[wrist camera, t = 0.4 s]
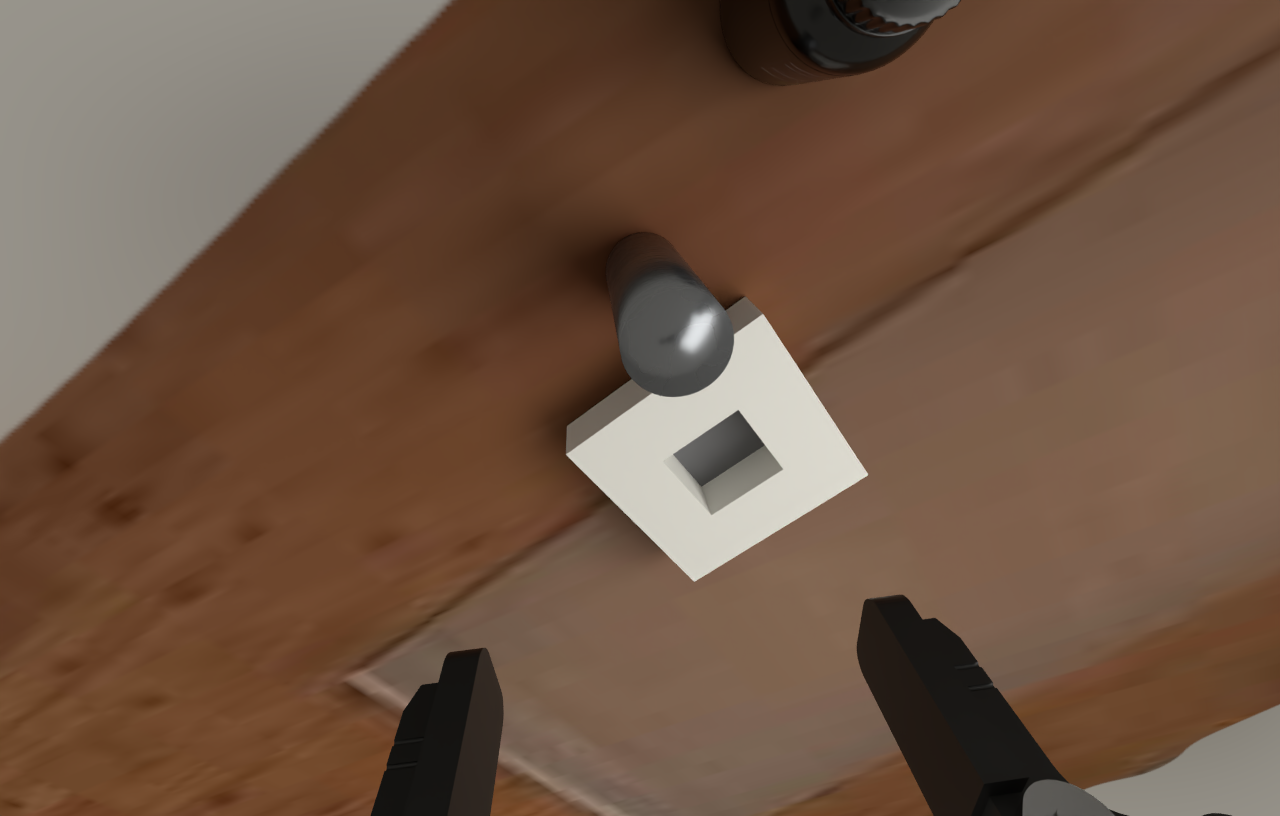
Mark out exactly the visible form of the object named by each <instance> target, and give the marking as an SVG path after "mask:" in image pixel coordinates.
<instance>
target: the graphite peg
mask: <svg viewBox="0 0 1280 816" xmlns="http://www.w3.org/2000/svg"><path fill="white" fill-rule="evenodd" d="M606 280H607V285H608V290H609V296H610V301H611V306H612V311H613V317H614V322H615V327H616V332H617V338H618V343H619V348H620V353H621V358H622V362H623V365H624V367H625V369H626V371H627V373H628V374H629V376H630V377H631V378H632V380H633V381H634V382H635V383H636V384H638V385H639V386H640V387H641V388H643V389H645V390H646V391H648V392H651V393H653V394H656V395H659V396H665V397H682V396H687V395H691V394H694V393H696V392H699V391H701V390H703V389H704V388H706V387H708V386H709V385H710V384H712V383H713V382H714V381H715V380H716V379H717V378H718V377H719V376H720V375H721V374H722V372H723V371H724V370H725V368H726V366H727V365H728V363H729V360H730V358H731V355H732V352H733V346H734V331H733V327H732V323H731V320H730V318H729V316H728V314H727V313H726V311H725V310H724V308H723V307H722V306H721V305H720V303H719V302H718V301H717V300H716V298H715V297H714V296H713V295H712V294H711V292H710V291H709V290H708V289H707V287H706V286H705V285H704V284H703V282H702V281H701V280H700V279H699V278H698V276H697V275H696V274H695V273H694V271H693V270H692V269H691V268H690V267H689V265H688V264H687V263H686V262H685V260H684V259H683V258H682V257H681V255H680V254H679V253H678V252H677V251H676V249H675V248H674V247H673V246H672V244H671V243H670V242H668V241H667V240H666V239H665V238H663V237H661V236H659V235H657V234H653V233H647V232H642V233H635V234H632V235H629V236H627V237H625V238H624V239H622V240H621V241H620V242H619V243H617V244H616V246H615V247H614V248H613V249H612V251H611V253H610V255H609V257H608V260H607V263H606Z"/></svg>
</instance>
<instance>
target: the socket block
mask: <svg viewBox="0 0 1280 816" xmlns="http://www.w3.org/2000/svg"><path fill="white" fill-rule="evenodd" d="M726 313H727V314H728V316H729V318H730V320H731V323H732V327H733V331H734V346H733V352H732V355H731V358H730V360H729V363H728V365H727V366H726V368H725V370H724V371H723V372H722V374H721V375H720V376H719V377H718V378H717V379H716V380H715V381H714V382H713V383H712V384H710V385H709V386H708V387H706V388H704V389H703V390H701V391H699V392H696V393H694V394H691V395H687V396H682V397H665V396H659V395H656V394H653V393H651V392H648V391H646V390H645V389H643V388H641V387H640V386H639V385H638V384H636V383H635V382H634V381H633V380H632V379H631V380H630V381H628V382H627V383H625V384H624V385H623V386H621V387H620V388H619V389H617V390H616V391H614V392H613V393H612V394H610V395H609V396H608V397H606V398H605V399H603V400H602V401H601V402H599V403H598V404H597V405H595V406H594V407H592V408H591V409H590V410H588V411H587V412H586V413H584V414H583V415H581V416H580V417H579V418H577V419H576V420H575V421H573V422H572V423H570V424H569V425H568V426H567V439H566V455H567V456H568V457H569V458H570V459H571V460H572V461H573V462H574V463H575V464H576V465H577V466H578V467H579V468H580V469H581V470H582V471H583V472H584V473H585V474H586V475H587V476H588V477H589V478H590V479H591V480H592V481H593V482H594V483H595V484H596V485H597V486H598V487H599V488H600V489H601V490H602V491H603V492H604V493H605V494H606V495H607V496H608V497H609V498H610V499H611V500H612V501H613V502H614V503H615V504H616V505H617V506H618V507H619V508H620V509H621V510H622V511H623V512H624V513H625V514H626V515H627V516H628V517H629V518H630V519H631V520H632V521H634V522H635V523H636V524H637V525H638V526H639V527H640V528H641V529H642V530H643V531H644V532H645V533H646V534H647V535H648V536H649V537H650V538H651V539H652V540H653V541H654V542H655V543H656V544H657V545H658V546H659V547H660V548H661V549H662V550H663V551H664V552H665V553H666V554H667V555H668V556H669V557H670V558H671V559H672V560H673V561H674V562H675V563H676V564H677V565H678V566H679V567H680V568H681V569H682V570H683V571H684V572H685V573H686V574H687V575H688V576H689V577H690V578H691V579H692V580H693V581H694V582H695V581H696V580H698V579H699V578H701V577H703V576H704V575H706V574H708V573H709V572H711V571H713V570H714V569H716V568H717V567H719V566H721V565H722V564H724V563H726V562H727V561H729V560H731V559H732V558H734V557H735V556H737V555H739V554H740V553H742V552H744V551H745V550H747V549H748V548H750V547H752V546H753V545H755V544H757V543H758V542H760V541H762V540H763V539H765V538H766V537H768V536H770V535H771V534H773V533H775V532H776V531H778V530H780V529H781V528H783V527H784V526H786V525H788V524H789V523H791V522H793V521H794V520H796V519H797V518H799V517H801V516H802V515H804V514H806V513H807V512H809V511H811V510H812V509H814V508H815V507H817V506H819V505H820V504H822V503H824V502H825V501H827V500H828V499H830V498H832V497H833V496H835V495H837V494H838V493H840V492H842V491H843V490H845V489H846V488H848V487H850V486H851V485H853V484H855V483H856V482H858V481H860V480H861V479H863V478H864V477H866V476H868V474H867V472H866V471H865V469H864V468H863V466H862V465H861V463H860V461H859V460H858V458H857V457H856V455H855V454H854V452H853V451H852V449H851V448H850V446H849V445H848V443H847V442H846V440H845V439H844V437H843V435H842V434H841V432H840V431H839V429H838V428H837V426H836V425H835V423H834V422H833V420H832V419H831V417H830V416H829V414H828V413H827V411H826V409H825V408H824V406H823V405H822V403H821V402H820V400H819V399H818V397H817V396H816V394H815V393H814V391H813V390H812V388H811V387H810V385H809V383H808V382H807V380H806V379H805V377H804V376H803V374H802V373H801V371H800V370H799V368H798V367H797V365H796V364H795V362H794V361H793V359H792V357H791V356H790V354H789V353H788V351H787V350H786V348H785V347H784V345H783V344H782V342H781V341H780V339H779V338H778V336H777V335H776V333H775V331H774V330H773V328H772V327H771V325H770V324H769V322H768V321H767V319H766V318H765V316H764V315H763V313H762V312H761V311H760V310H759V309H758V308H757V307H756V306H755V305H754V304H753V303H752V302H751V301H750V300H749V299H748V298H747V297H746V296H745V297H744V298H742V299H741V300H740V301H738V302H737V303H735V304H734V305H733V306H731V307H730V308H729V309H727V310H726Z"/></svg>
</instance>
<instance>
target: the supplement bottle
mask: <svg viewBox="0 0 1280 816" xmlns="http://www.w3.org/2000/svg"><path fill="white" fill-rule="evenodd" d="M960 1H961V0H720V16H721V25H722V30H723V34H724V38H725V41H726V44H727V46H728V48H729V50H730V52H731V54H732V56H733V58H734V59H735V60H736V62H737V63H738V64H739V66H740V67H741V68H742V69H743V70H744V71H745V72H746V73H748V74H749V75H750V76H752V77H753V78H755V79H757V80H759V81H761V82H764V83H767V84H772V85H779V86H786V85H797V84H803V83H810V82H816V81H822V80H828V79H835V78H841V77H847V76H853V75H858V74H862V73H866V72H869V71H873V70H875V69H878V68H880V67H883V66H885V65H886V64H888V63H890V62H892V61H893V60H895V59H896V58H898V57H899V56H901V55H902V54H903V53H905V52H906V51H907V50H908V49H910V48H911V47H912V46H913V45H914V44H915V43H916V42H917V41H918V40H919V39H920V38H921V37H922V35H923V34H924V33H925V32H926V31H927V29H928V28H929V27H930V25H931V24H932V23H933V21H934V20H936V19H939V18H941V17H943V16H944V15H945V14H946V12H947V11H948V10H950V9H953V8H955V7H956V6H957V5H958V4H959V2H960Z"/></svg>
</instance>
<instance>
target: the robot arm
mask: <svg viewBox="0 0 1280 816" xmlns="http://www.w3.org/2000/svg"><path fill="white" fill-rule="evenodd" d="M857 656H858V661H859V665H860V668H861V671H862V673H863V676H864V678H865V680H866V682H867V684H868V686H869V688H870V690H871V692H872V694H873V696H874V698H875V700H876V702H877V704H878V706H879V708H880V710H881V712H882V714H883V716H884V718H885V720H886V722H887V724H888V726H889V728H890V730H891V732H892V734H893V736H894V738H895V740H896V742H897V744H898V746H899V748H900V750H901V752H902V754H903V756H904V758H905V759H906V761H907V763H908V765H909V767H910V769H911V771H912V773H913V775H914V777H915V779H916V781H917V783H918V785H919V787H920V789H921V791H922V793H923V795H924V797H925V799H926V801H927V803H928V805H929V807H930V809H931V811H932V813H933V815H934V816H1127V815H1123V814H1120V813H1117V812H1115V811H1112V810H1109V809H1108V808H1107V807H1106V806H1105V805H1104V804H1103V803H1101V802H1100V801H1099V800H1097V799H1096V798H1095V797H1094V796H1092V795H1090V794H1089V793H1087V792H1086V791H1084V790H1082V789H1080V788H1078V787H1076V786H1074V785H1072V784H1070V783H1068V782H1067V781H1066V780H1065V779H1064V777H1063V776H1062V775H1061V774H1060V773H1059V772H1058V771H1057V770H1056V768H1055V767H1054V766H1053V765H1052V763H1051V762H1050V760H1049V759H1048V758H1047V756H1046V755H1045V754H1044V752H1043V751H1042V749H1041V748H1040V747H1039V745H1038V744H1037V743H1036V741H1035V740H1034V738H1033V737H1032V736H1031V734H1030V733H1029V732H1028V730H1027V729H1026V727H1025V726H1024V725H1023V723H1022V722H1021V721H1020V719H1019V718H1018V716H1017V715H1016V714H1015V712H1014V711H1013V710H1012V708H1011V707H1010V705H1009V704H1008V703H1007V701H1006V700H1005V699H1004V697H1003V696H1002V694H1001V693H1000V692H999V690H998V689H997V688H994V686H993V682H992V681H991V679H990V678H989V677H988V675H987V674H986V672H985V671H984V670H983V668H982V667H979V665H978V662H977V660H976V659H975V657H974V656H973V655H972V653H971V652H970V651H969V649H968V648H967V646H966V645H965V644H964V642H963V641H962V640H961V638H960V637H959V636H957V635H956V634H955V633H954V632H952V631H951V630H950V629H948V628H947V627H946V626H945V625H943V624H942V623H941V622H940V621H938V620H937V619H936V618H931V619H924V620H922V618H921V617H920V615H919V614H918V612H917V611H916V609H915V608H914V606H913V605H912V603H911V602H910V601H909V600H908V599H907V597H905V596H904V595H893V596H886V597H878V598H870V599H866V600H865V602H864V605H863V611H862V617H861V623H860V629H859V635H858V641H857ZM502 726H503V697H502V692H501V689H500V686H499V683H498V679H497V676H496V673H495V670H494V667H493V664H492V661H491V658H490V655H489V652H488V650H487V649H486V648H479V649H471V650H464V651H456V652H450V653H448V654H447V656H446V658H445V660H444V663H443V667H442V671H441V675H440V678H439V682H438V683H432V684H425V685H421V686H420V688H419V689H418V691H417V692H416V694H415V695H414V697H413V698H412V699H411V701H410V702H409V704H408V705H407V707H406V708H405V710H404V711H403V714H402V717H401V720H400V723H399V727H398V730H397V733H396V736H395V739H394V746H392V749H391V752H390V755H389V759H388V762H387V770H386V771H384V775H383V778H382V781H381V784H380V787H379V791H378V794H377V797H376V800H375V803H374V807H373V810H372V813H371V816H490V812H491V805H492V798H493V791H494V784H495V776H496V769H497V762H498V755H499V748H500V741H501V734H502ZM1203 816H1231V815H1226V814H1219V813H1218V814H1217V813H1211V814H1206V815H1203Z"/></svg>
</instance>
